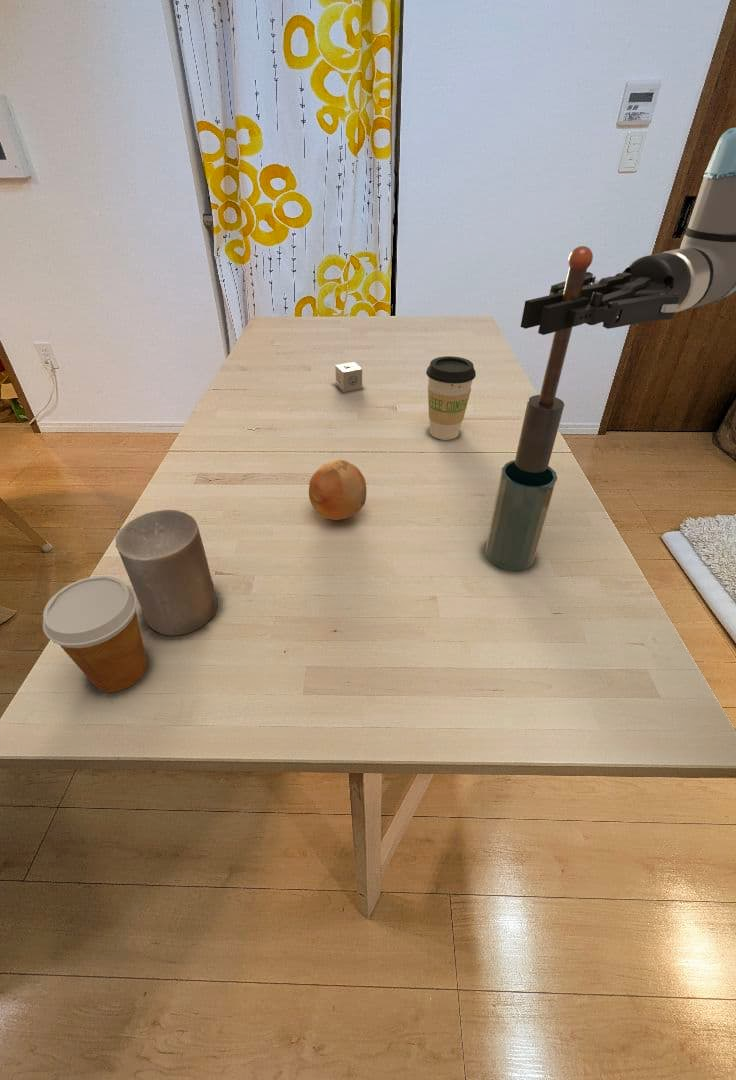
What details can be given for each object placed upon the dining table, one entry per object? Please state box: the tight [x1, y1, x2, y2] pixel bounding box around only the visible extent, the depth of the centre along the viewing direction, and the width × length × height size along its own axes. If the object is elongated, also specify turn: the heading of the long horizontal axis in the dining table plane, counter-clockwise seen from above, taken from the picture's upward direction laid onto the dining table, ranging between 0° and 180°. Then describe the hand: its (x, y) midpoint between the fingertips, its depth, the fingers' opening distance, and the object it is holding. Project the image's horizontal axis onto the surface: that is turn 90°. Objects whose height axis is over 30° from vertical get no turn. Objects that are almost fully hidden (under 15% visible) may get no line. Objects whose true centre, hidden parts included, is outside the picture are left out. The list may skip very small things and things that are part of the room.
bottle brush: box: [514, 245, 594, 473], centre depth 62 cm, size 4×4×26 cm
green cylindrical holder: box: [485, 459, 558, 572], centre depth 76 cm, size 7×7×15 cm
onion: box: [308, 459, 367, 521], centre depth 86 cm, size 10×10×10 cm
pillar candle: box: [114, 509, 219, 637], centre depth 67 cm, size 10×10×15 cm
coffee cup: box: [425, 355, 477, 441], centre depth 107 cm, size 10×10×15 cm
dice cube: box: [334, 361, 363, 393], centre depth 128 cm, size 5×5×5 cm
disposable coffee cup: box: [42, 575, 148, 693], centre depth 60 cm, size 10×10×12 cm
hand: (534, 317), depth 55 cm, fingers closed on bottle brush, 2 cm apart
